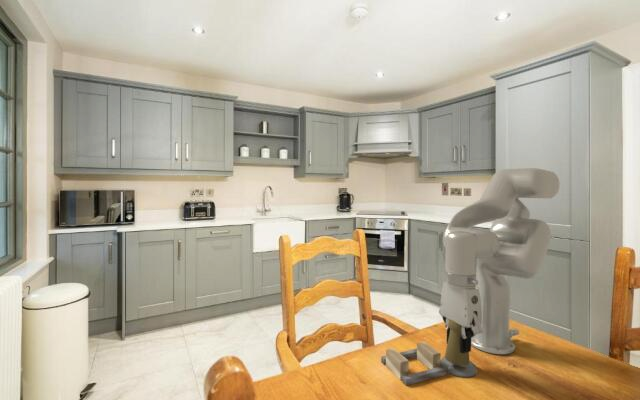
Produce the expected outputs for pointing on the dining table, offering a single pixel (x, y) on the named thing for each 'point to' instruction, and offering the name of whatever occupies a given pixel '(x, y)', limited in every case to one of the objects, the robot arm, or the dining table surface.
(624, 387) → the dining table surface
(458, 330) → the pepper mill
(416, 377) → the grey and cream frame
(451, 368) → the coaster
